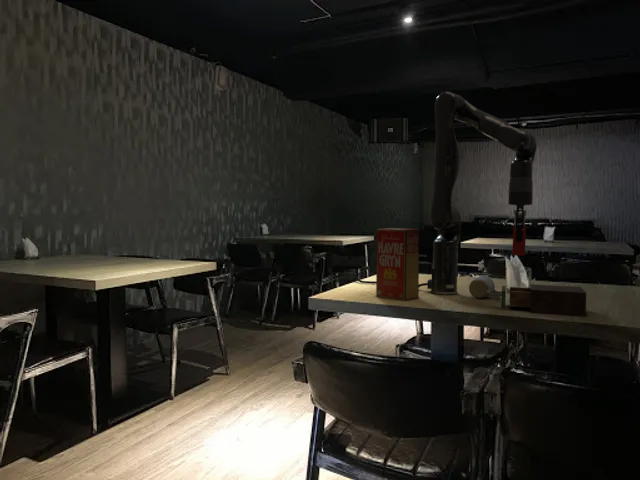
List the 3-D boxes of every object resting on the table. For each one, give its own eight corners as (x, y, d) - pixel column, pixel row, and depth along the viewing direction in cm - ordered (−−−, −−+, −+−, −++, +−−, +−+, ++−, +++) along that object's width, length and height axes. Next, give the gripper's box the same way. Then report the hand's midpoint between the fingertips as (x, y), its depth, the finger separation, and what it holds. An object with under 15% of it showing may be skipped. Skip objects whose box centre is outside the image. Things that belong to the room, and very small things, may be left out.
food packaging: (374, 296, 180) (375, 228, 179) (389, 293, 187) (390, 227, 186) (405, 301, 171) (406, 229, 170) (419, 297, 178) (420, 228, 176)
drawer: (484, 305, 158) (485, 289, 158) (486, 300, 169) (486, 284, 168) (549, 310, 151) (550, 293, 151) (546, 304, 162) (547, 288, 161)
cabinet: (530, 312, 153) (531, 289, 152) (529, 305, 164) (529, 284, 164) (585, 316, 147) (586, 292, 147) (579, 308, 159) (580, 286, 158)
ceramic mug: (467, 297, 178) (468, 276, 177) (473, 294, 184) (474, 274, 184) (497, 301, 172) (498, 279, 171) (503, 298, 179) (504, 277, 178)
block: (512, 255, 167) (513, 225, 166) (512, 254, 171) (513, 225, 170) (525, 255, 165) (526, 226, 165) (524, 254, 169) (525, 225, 169)
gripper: (508, 191, 175) (507, 240, 176) (508, 190, 162) (507, 242, 163) (531, 191, 172) (530, 240, 173) (533, 190, 159) (531, 242, 160)
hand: (518, 241), depth 168 cm, fingers closed on block, 4 cm apart
